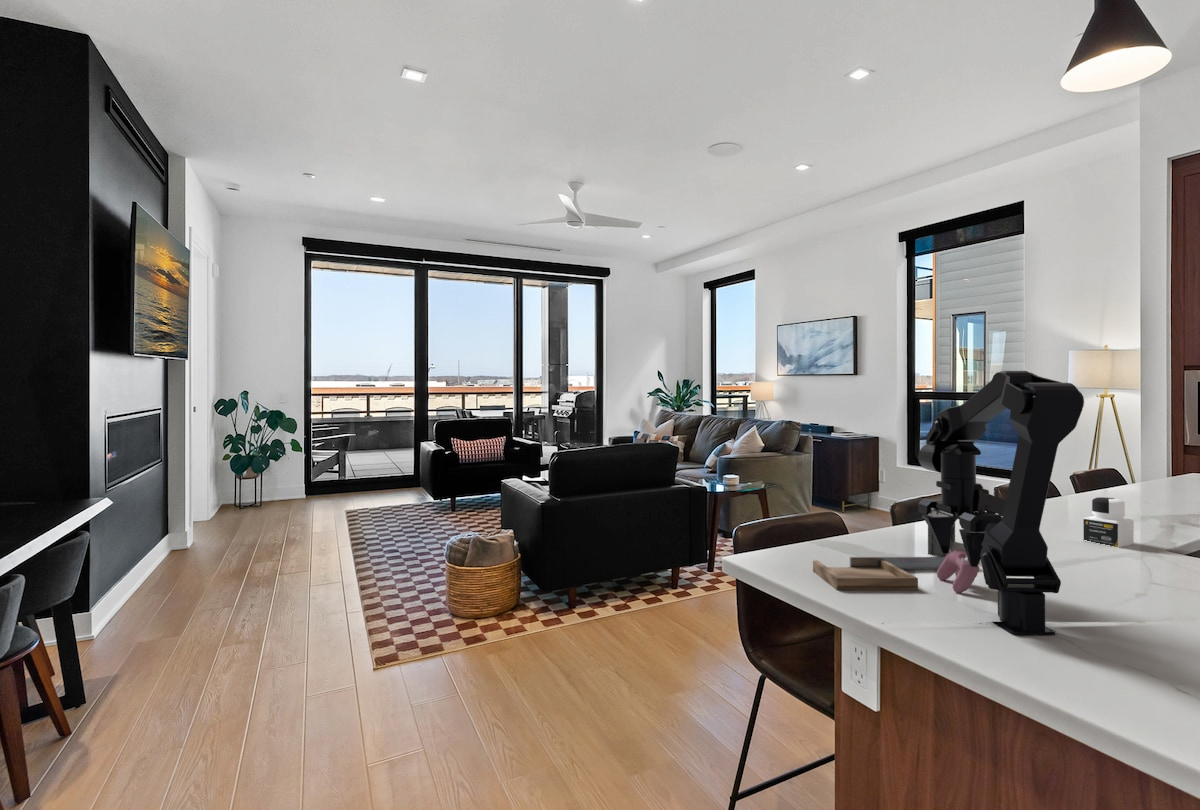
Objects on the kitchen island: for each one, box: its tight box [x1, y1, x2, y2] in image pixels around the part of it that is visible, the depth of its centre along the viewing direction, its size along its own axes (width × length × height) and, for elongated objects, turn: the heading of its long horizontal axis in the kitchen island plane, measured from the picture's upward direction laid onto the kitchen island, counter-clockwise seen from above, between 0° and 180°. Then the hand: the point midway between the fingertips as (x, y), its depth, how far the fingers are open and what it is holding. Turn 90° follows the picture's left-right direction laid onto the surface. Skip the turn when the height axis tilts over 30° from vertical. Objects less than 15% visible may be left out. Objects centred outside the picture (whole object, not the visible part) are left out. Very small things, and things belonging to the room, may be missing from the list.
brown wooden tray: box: [812, 560, 919, 591], centre depth 120 cm, size 13×15×2 cm
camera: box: [927, 522, 956, 557], centre depth 143 cm, size 16×4×10 cm, turn 143°
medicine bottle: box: [1083, 496, 1135, 548], centre depth 147 cm, size 7×7×12 cm
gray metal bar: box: [849, 556, 945, 570], centre depth 128 cm, size 2×26×2 cm, turn 90°
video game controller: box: [936, 549, 981, 594], centre depth 116 cm, size 10×5×7 cm, turn 169°
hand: (959, 559), depth 116 cm, fingers open, 9 cm apart
